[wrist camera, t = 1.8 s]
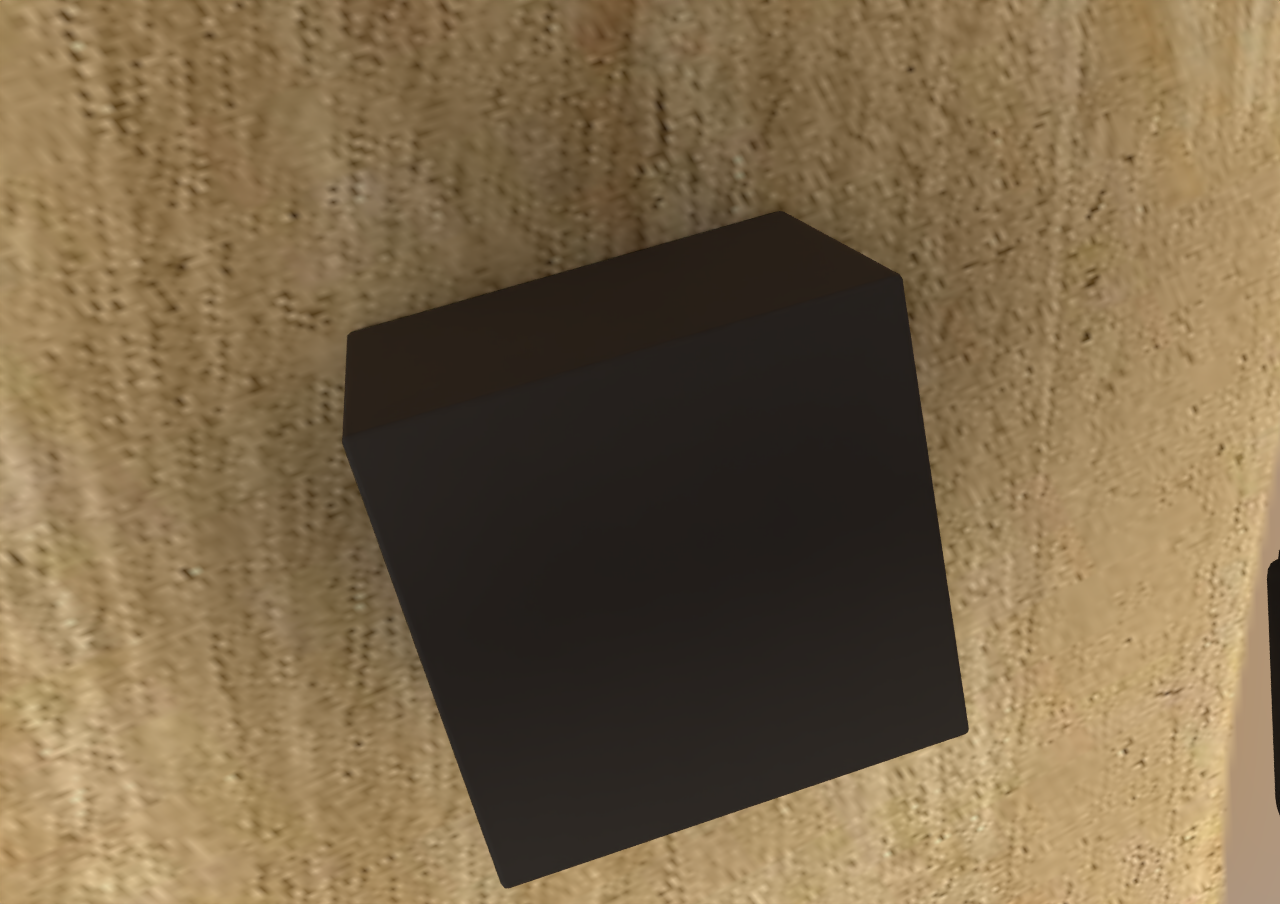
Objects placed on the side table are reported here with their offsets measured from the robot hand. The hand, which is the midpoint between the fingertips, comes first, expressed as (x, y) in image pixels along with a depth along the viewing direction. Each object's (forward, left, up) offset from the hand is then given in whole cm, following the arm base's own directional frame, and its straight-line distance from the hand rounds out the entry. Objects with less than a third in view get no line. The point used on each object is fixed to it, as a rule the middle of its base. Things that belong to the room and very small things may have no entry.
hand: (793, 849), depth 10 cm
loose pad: (0, 0, -8) cm, 8 cm away
